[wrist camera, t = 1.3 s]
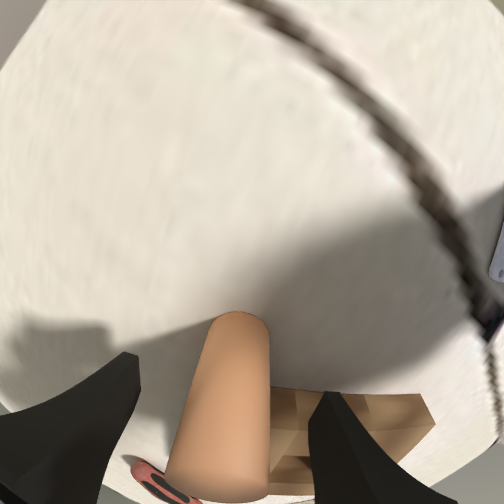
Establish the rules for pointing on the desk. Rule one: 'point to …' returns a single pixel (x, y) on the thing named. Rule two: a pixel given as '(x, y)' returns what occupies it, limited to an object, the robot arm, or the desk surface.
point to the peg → (226, 416)
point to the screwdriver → (159, 484)
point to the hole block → (367, 411)
